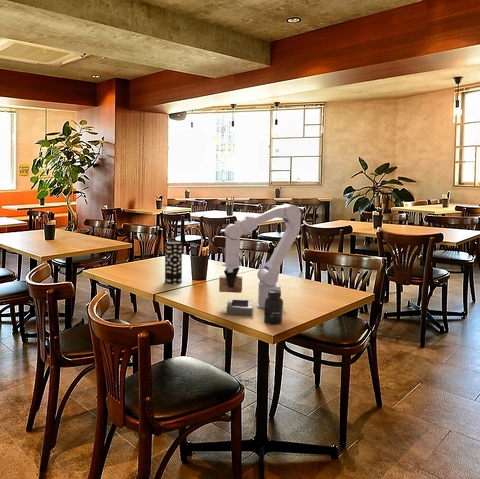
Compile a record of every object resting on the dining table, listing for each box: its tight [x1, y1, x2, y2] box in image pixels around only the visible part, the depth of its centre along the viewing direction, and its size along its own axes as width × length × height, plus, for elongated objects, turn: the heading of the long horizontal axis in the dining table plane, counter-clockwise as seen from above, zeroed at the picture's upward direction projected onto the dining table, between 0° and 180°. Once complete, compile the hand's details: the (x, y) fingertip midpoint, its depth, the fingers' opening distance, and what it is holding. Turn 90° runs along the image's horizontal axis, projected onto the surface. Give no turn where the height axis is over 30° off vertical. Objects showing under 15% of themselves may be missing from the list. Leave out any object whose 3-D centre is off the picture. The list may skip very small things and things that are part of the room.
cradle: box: [226, 298, 253, 317], centre depth 188 cm, size 10×12×3 cm
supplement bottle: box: [263, 290, 284, 326], centre depth 174 cm, size 7×7×12 cm
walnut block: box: [218, 275, 243, 294], centre depth 192 cm, size 9×4×6 cm, turn 85°
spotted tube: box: [164, 241, 183, 285], centre depth 232 cm, size 8×8×20 cm
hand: (231, 286), depth 192 cm, fingers closed on walnut block, 4 cm apart
